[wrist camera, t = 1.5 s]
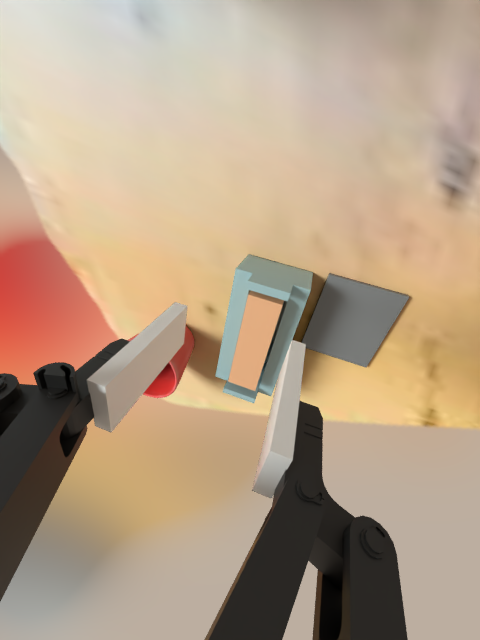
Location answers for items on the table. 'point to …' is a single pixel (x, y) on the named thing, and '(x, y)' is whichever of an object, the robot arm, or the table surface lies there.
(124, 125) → the table surface
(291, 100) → the table surface
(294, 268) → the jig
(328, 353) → the mat
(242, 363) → the bar
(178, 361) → the flower pot
